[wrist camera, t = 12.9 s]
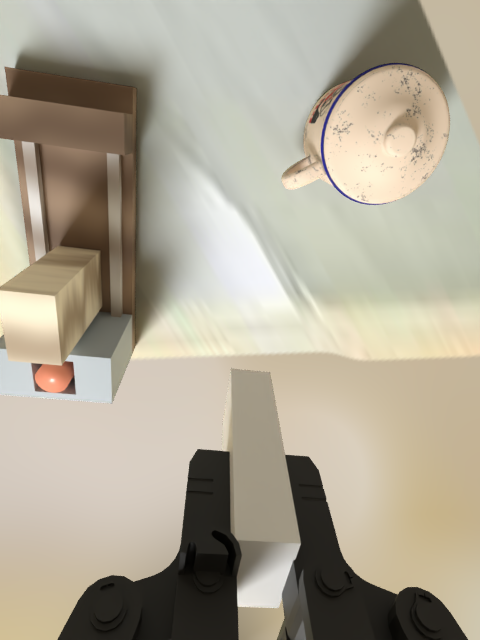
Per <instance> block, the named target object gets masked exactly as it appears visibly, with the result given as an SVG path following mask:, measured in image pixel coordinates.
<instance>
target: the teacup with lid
mask: <svg viewBox="0 0 480 640" xmlns="http://www.w3.org/2000/svg"><path fill="white" fill-rule="evenodd" d="M449 129H450V115H449V108H448V104H447V100H446V98H445V95H444V93H443V91H442V89H441V88H440V86H439V85H438V83H437V82H436V81H435V80H434V79H433V78H432V77H431V76H430V75H429V74H427V73H426V72H425V71H423V70H421V69H419V68H417V67H415V66H412V65H408V64H403V63H389V64H383V65H379V66H376V67H374V68H371V69H369V70H367V71H365V72H363V73H362V74H360V75H358V76H357V77H356V78H354V79H353V80H350V81H347V82H344V83H342V84H339V85H337V86H335V87H333V88H332V89H330V90H329V91H328V92H326V93H325V94H324V95H323V96H322V97H321V98H320V99H319V100H318V102H317V103H316V104H315V106H314V107H313V109H312V111H311V113H310V115H309V117H308V119H307V122H306V126H305V130H304V151H305V155H306V158H304V159H302V160H300V161H299V162H297V163H295V164H294V165H292V166H291V167H289V168H288V169H287V170H286V171H285V172H284V173H283V175H282V182H283V185H284V186H285V188H287V189H296V188H299V187H302V186H305V185H307V184H309V183H311V182H313V181H315V180H317V179H319V178H320V179H322V180H323V181H325V182H327V183H329V184H330V185H332V186H334V187H335V188H336V189H337V190H338V191H339V192H340V193H341V194H342V195H344V196H345V197H347V198H349V199H350V200H353V201H355V202H358V203H362V204H368V205H379V204H386V203H390V202H393V201H396V200H398V199H400V198H403V197H405V196H406V195H408V194H410V193H411V192H413V191H414V190H416V189H417V188H418V187H419V186H421V185H422V184H423V183H424V182H425V181H426V180H427V179H428V178H429V176H430V175H431V174H432V173H433V171H434V170H435V168H436V167H437V165H438V163H439V161H440V160H441V157H442V155H443V153H444V150H445V148H446V144H447V141H448V136H449Z"/></svg>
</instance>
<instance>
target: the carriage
mask: <svg viewBox="0 0 480 640" xmlns="http://www.w3.org/2000/svg"><path fill="white" fill-rule="evenodd" d="M101 307H102V280H101V253H100V251H99V250H90V249H82V248H73V247H64V246H57V247H55V248H54V249H53V250H51V251H50V252H48V253H47V254H46V255H44V256H43V257H41V258H40V259H39V260H37V261H36V262H34V263H33V264H32V265H30V266H29V267H27V268H26V269H25V270H23V271H22V272H20V273H19V274H18V275H16V276H15V277H13V278H12V279H11V280H9V281H8V282H6V283H5V284H4V285H2V286H1V287H0V315H1V321H2V327H3V332H4V338H5V344H6V349H7V355H8V361H15V362H26V363H38V364H49V365H61V366H62V365H63V363H64V362H65V360H66V359H67V357H68V356H69V354H70V353H71V351H72V350H73V348H74V347H75V346H76V344H77V343H78V341H79V340H80V338H81V337H82V335H83V334H84V332H85V331H86V329H87V328H88V326H89V325H90V324H91V322H92V321H93V319H94V318H95V316H96V315H97V313H98V312H99V310H100V309H101Z"/></svg>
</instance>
